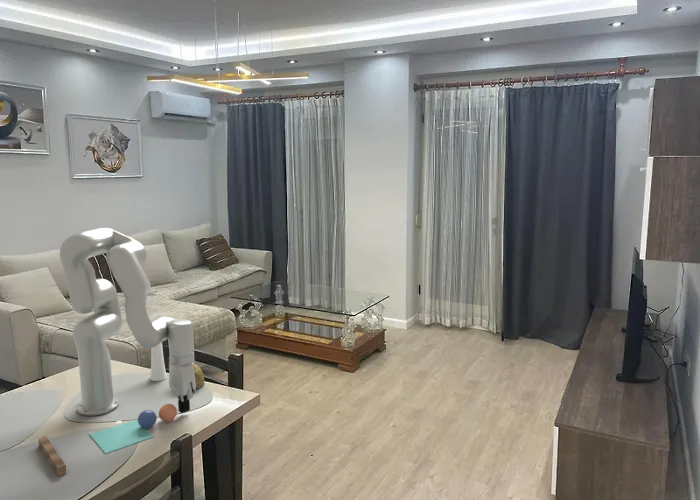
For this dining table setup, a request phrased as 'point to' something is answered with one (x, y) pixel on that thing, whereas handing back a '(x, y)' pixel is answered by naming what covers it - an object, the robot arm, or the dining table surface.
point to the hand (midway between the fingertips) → (184, 410)
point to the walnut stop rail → (52, 456)
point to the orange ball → (167, 412)
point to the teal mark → (120, 436)
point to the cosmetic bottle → (157, 364)
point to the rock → (198, 376)
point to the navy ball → (147, 419)
